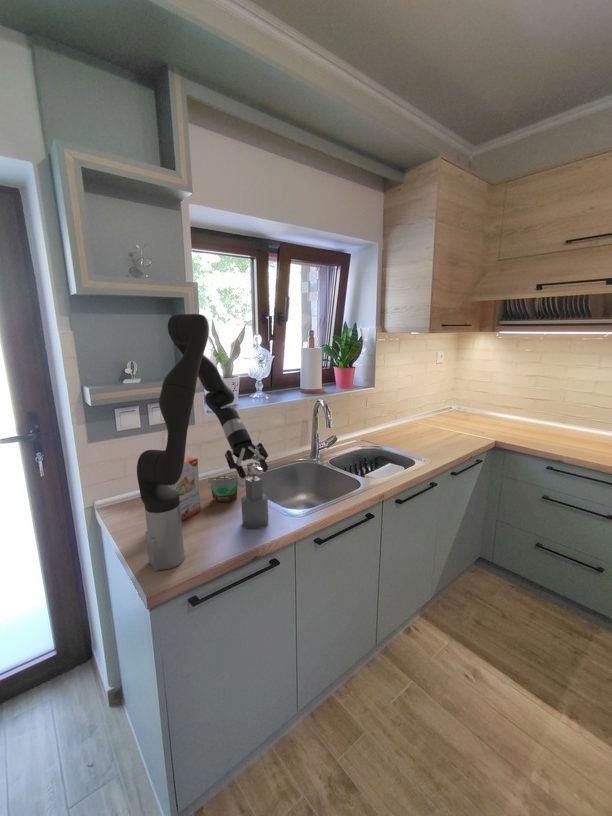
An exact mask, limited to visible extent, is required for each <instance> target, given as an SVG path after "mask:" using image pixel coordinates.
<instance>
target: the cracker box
mask: <svg viewBox="0 0 612 816" xmlns="http://www.w3.org/2000/svg"><path fill="white" fill-rule="evenodd" d="M198 462H199V461H198V457H194V456H187V455H186V456H185V458H184V466H183V471H182V474H181V477H180V479H179V480H178V482H177V483H176V484H174V485H167V486H168V487H170V488H171V489H173V490H175V491H176V492H177V493H178V494H179V498H180V509H181V520H182V522H183V521H184V520H186V519H188V518H190V517H192V516H193V515H195V514H197V513H199V512H200V511H201V496H200V495H201V494H200V491H201V490H200V477H199V476H200V475H199V463H198Z"/></svg>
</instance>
